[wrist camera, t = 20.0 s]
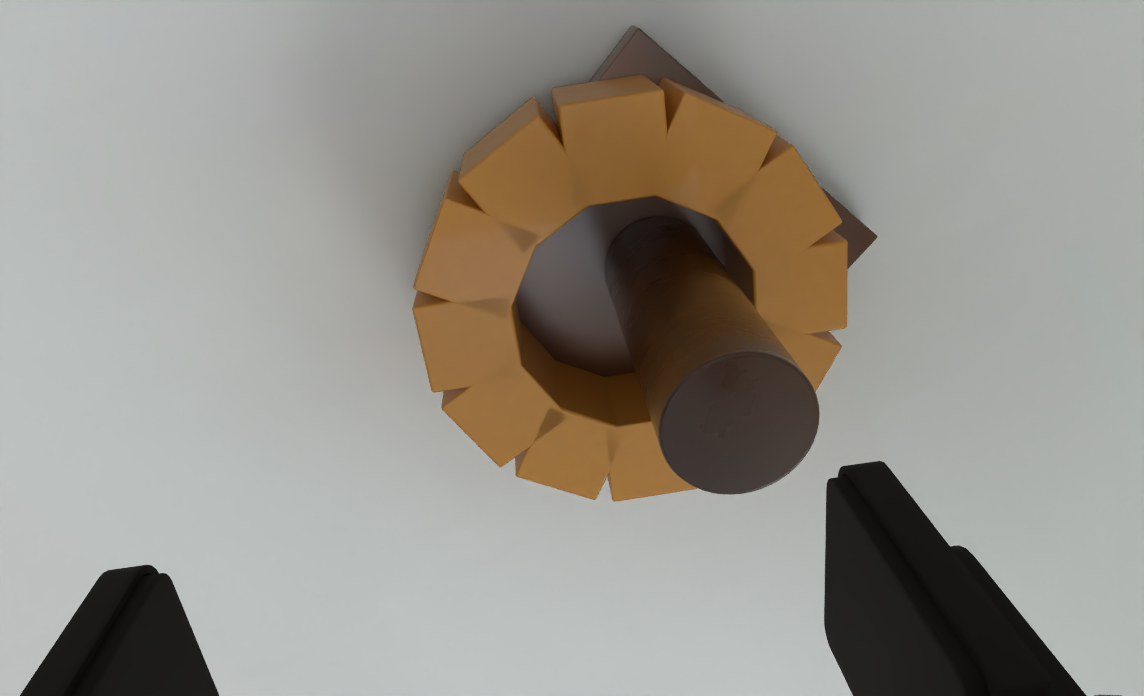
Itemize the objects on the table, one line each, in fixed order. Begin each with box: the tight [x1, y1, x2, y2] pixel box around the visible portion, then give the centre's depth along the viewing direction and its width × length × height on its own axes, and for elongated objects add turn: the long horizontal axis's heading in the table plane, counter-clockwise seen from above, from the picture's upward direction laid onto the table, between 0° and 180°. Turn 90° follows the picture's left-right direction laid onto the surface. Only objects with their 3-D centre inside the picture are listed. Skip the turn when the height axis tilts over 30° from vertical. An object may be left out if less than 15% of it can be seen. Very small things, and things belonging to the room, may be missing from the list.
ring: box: [412, 75, 848, 502], centre depth 22 cm, size 11×11×3 cm
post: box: [516, 26, 877, 494], centre depth 20 cm, size 9×9×10 cm
